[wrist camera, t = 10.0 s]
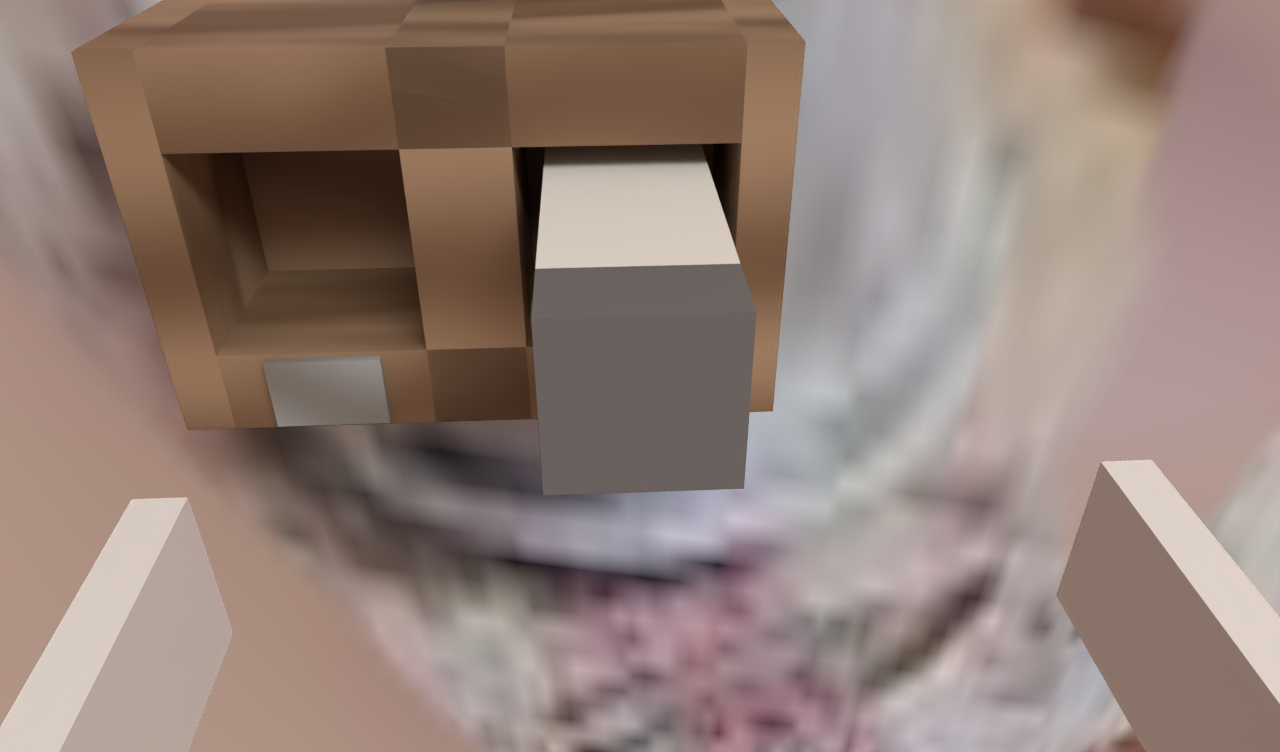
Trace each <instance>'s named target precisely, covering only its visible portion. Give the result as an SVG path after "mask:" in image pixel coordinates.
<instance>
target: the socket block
mask: <svg viewBox="0 0 1280 752" xmlns="http://www.w3.org/2000/svg"><path fill="white" fill-rule="evenodd" d="M804 51H805V41H804V39H803V38H802V37H801V36H800V35H799V34H798V32H797V31H796V30H795V29H794V28H793V26H792V25H791V24H790V23H789V22H788V20H787V19H786V18H785V17H784V16H783V14H782V13H781V12H780V11H779V10H778V8H777V7H776V6H775V5H774V4H773V2H772V1H771V0H163V1H161V2H159V3H157V4H155V5H154V6H152V7H150V8H148V9H147V10H145V11H143V12H141V13H139V14H138V15H136V16H134V17H132V18H131V19H129V20H127V21H125V22H123V23H122V24H120V25H118V26H116V27H115V28H113V29H111V30H109V31H107V32H106V33H104V34H102V35H100V36H98V37H97V38H95V39H93V40H91V41H90V42H88V43H86V44H84V45H82V46H81V47H79V48H77V49H75V50H74V51H72V52H71V53H72V56H73V60H74V63H75V66H76V69H77V73H78V76H79V79H80V82H81V86H82V89H83V92H84V95H85V99H86V102H87V105H88V108H89V112H90V115H91V118H92V121H93V125H94V128H95V131H96V134H97V138H98V141H99V144H100V147H101V151H102V154H103V157H104V160H105V164H106V167H107V170H108V173H109V177H110V180H111V183H112V186H113V190H114V193H115V196H116V199H117V203H118V206H119V209H120V213H121V216H122V219H123V222H124V226H125V229H126V232H127V235H128V239H129V242H130V245H131V248H132V252H133V255H134V258H135V261H136V265H137V268H138V271H139V274H140V278H141V281H142V284H143V287H144V291H145V294H146V297H147V300H148V304H149V307H150V310H151V313H152V317H153V320H154V323H155V326H156V330H157V333H158V336H159V339H160V343H161V346H162V349H163V352H164V356H165V359H166V362H167V365H168V369H169V372H170V375H171V378H172V382H173V385H174V388H175V391H176V395H177V398H178V401H179V404H180V408H181V411H182V414H183V417H184V421H185V424H186V427H187V430H201V429H232V428H264V427H295V426H326V425H358V424H389V423H420V422H452V421H483V420H514V419H538V411H537V397H536V382H535V368H534V353H533V339H532V324H531V314H532V302H533V290H534V277H535V265H536V253H537V241H538V229H539V217H540V205H541V193H542V180H543V168H544V156H545V147H558V146H611V145H664V144H701V146H702V149H703V152H704V155H705V158H706V161H707V164H708V167H709V170H710V173H711V176H712V179H713V182H714V185H715V188H716V191H717V194H718V197H719V200H720V203H721V206H722V209H723V212H724V215H725V218H726V221H727V224H728V227H729V230H730V233H731V236H732V239H733V242H734V245H735V248H736V252H737V255H738V258H739V261H740V264H741V267H742V270H743V273H744V276H745V279H746V282H747V285H748V288H749V291H750V294H751V297H752V300H753V303H754V306H755V309H756V312H757V314H756V328H755V342H754V356H753V369H752V383H751V397H750V410H749V412H765V411H773V402H774V391H775V379H776V368H777V357H778V345H779V334H780V323H781V311H782V300H783V289H784V277H785V266H786V255H787V244H788V232H789V221H790V210H791V198H792V187H793V176H794V164H795V153H796V142H797V130H798V119H799V108H800V96H801V85H802V74H803V63H804Z"/></svg>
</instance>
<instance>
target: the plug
mask: <svg viewBox="0 0 1280 752" xmlns="http://www.w3.org/2000/svg"><path fill="white" fill-rule="evenodd" d="M756 314H757V312H756V309H755V306H754V303H753V300H752V297H751V294H750V291H749V288H748V285H747V282H746V279H745V276H744V273H743V270H742V267H741V264H740V261H739V258H738V255H737V252H736V248H735V245H734V242H733V239H732V236H731V233H730V230H729V227H728V224H727V221H726V218H725V215H724V212H723V209H722V206H721V203H720V200H719V197H718V194H717V191H716V188H715V185H714V182H713V179H712V176H711V173H710V170H709V167H708V164H707V161H706V158H705V155H704V152H703V149H702V146H701V144H664V145H611V146H558V147H545V156H544V168H543V180H542V193H541V205H540V217H539V229H538V241H537V253H536V265H535V277H534V290H533V302H532V314H531V324H532V339H533V353H534V368H535V382H536V397H537V411H538V425H539V440H540V454H541V469H542V483H543V496H547V495H575V494H603V493H631V492H659V491H687V490H715V489H743V488H744V479H745V465H746V452H747V438H748V424H749V410H750V397H751V383H752V369H753V356H754V342H755V328H756Z"/></svg>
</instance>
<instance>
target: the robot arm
mask: <svg viewBox="0 0 1280 752" xmlns="http://www.w3.org/2000/svg"><path fill="white" fill-rule="evenodd" d="M1057 597H1058V599H1059V601H1060V602H1061V604H1062V606H1063V608H1064V610H1065V611H1066V613H1067V615H1068V617H1069V618H1070V620H1071V622H1072V624H1073V625H1074V627H1075V629H1076V631H1077V632H1078V634H1079V636H1080V638H1081V639H1082V641H1083V643H1084V645H1085V646H1086V648H1087V650H1088V652H1089V653H1090V655H1091V657H1092V659H1093V660H1094V662H1095V664H1096V666H1097V667H1098V669H1099V671H1100V673H1101V674H1102V676H1103V678H1104V680H1105V681H1106V683H1107V685H1108V687H1109V688H1110V690H1111V692H1112V694H1113V695H1114V697H1115V699H1116V701H1117V702H1118V704H1119V706H1120V708H1121V709H1122V711H1123V713H1124V715H1125V716H1126V718H1127V720H1128V722H1129V723H1130V725H1131V727H1132V729H1133V730H1134V732H1135V734H1136V736H1137V737H1138V739H1139V741H1140V743H1141V744H1142V746H1143V748H1144V750H1145V751H1146V752H1280V618H1279V616H1278V615H1277V614H1276V613H1275V611H1274V610H1273V609H1272V608H1271V606H1270V605H1269V604H1268V603H1267V602H1266V600H1265V599H1264V598H1263V597H1262V595H1261V594H1260V593H1259V592H1258V590H1257V589H1256V588H1255V587H1254V586H1253V584H1252V583H1251V582H1250V581H1249V579H1248V578H1247V577H1246V576H1245V574H1244V573H1243V572H1242V571H1241V569H1240V568H1239V567H1238V566H1237V565H1236V563H1235V562H1234V561H1233V560H1232V558H1231V557H1230V556H1229V555H1228V553H1227V552H1226V551H1225V550H1224V549H1223V547H1222V546H1221V545H1220V544H1219V542H1218V541H1217V540H1216V539H1215V537H1214V536H1213V535H1212V534H1211V533H1210V531H1209V530H1208V529H1207V528H1206V526H1205V525H1204V524H1203V523H1202V521H1201V520H1200V519H1199V518H1198V517H1197V515H1196V514H1195V513H1194V512H1193V510H1192V509H1191V508H1190V507H1189V505H1188V504H1187V503H1186V502H1185V501H1184V499H1183V498H1182V497H1181V496H1180V494H1179V493H1178V492H1177V491H1176V489H1175V488H1174V487H1173V486H1172V484H1171V483H1170V482H1169V481H1168V480H1167V478H1166V477H1165V476H1164V475H1163V473H1162V472H1161V471H1160V470H1159V468H1158V467H1157V466H1156V465H1155V464H1154V462H1153V461H1152V460H1138V461H1137V460H1136V461H1111V462H1101V463H1100V466H1099V470H1098V472H1097V475H1096V479H1095V481H1094V485H1093V487H1092V491H1091V493H1090V496H1089V499H1088V502H1087V505H1086V508H1085V511H1084V514H1083V517H1082V520H1081V523H1080V526H1079V529H1078V532H1077V535H1076V538H1075V541H1074V544H1073V547H1072V550H1071V553H1070V556H1069V559H1068V562H1067V565H1066V568H1065V571H1064V574H1063V577H1062V580H1061V583H1060V586H1059V589H1058V592H1057ZM232 635H233V631H232V628H231V625H230V622H229V619H228V616H227V613H226V610H225V607H224V604H223V601H222V598H221V595H220V592H219V589H218V586H217V583H216V580H215V577H214V574H213V571H212V568H211V565H210V562H209V559H208V556H207V553H206V550H205V547H204V544H203V541H202V538H201V535H200V532H199V529H198V526H197V524H196V520H195V517H194V514H193V511H192V508H191V505H190V502H189V499H188V497H181V498H155V499H132V500H131V502H130V503H129V505H128V507H127V508H126V510H125V512H124V514H123V516H122V517H121V519H120V521H119V522H118V524H117V526H116V528H115V529H114V531H113V533H112V534H111V536H110V538H109V540H108V541H107V543H106V545H105V546H104V548H103V550H102V552H101V553H100V555H99V557H98V559H97V560H96V562H95V564H94V566H93V567H92V569H91V571H90V572H89V574H88V576H87V578H86V579H85V581H84V583H83V585H82V586H81V588H80V590H79V591H78V593H77V595H76V597H75V599H74V600H73V602H72V604H71V605H70V607H69V609H68V611H67V612H66V614H65V616H64V618H63V619H62V621H61V623H60V624H59V626H58V628H57V630H56V631H55V633H54V635H53V637H52V638H51V640H50V642H49V643H48V645H47V647H46V649H45V650H44V652H43V654H42V656H41V657H40V659H39V661H38V662H37V664H36V666H35V668H34V669H33V671H32V673H31V675H30V676H29V678H28V680H27V682H26V683H25V685H24V687H23V688H22V690H21V692H20V694H19V696H18V697H17V699H16V701H15V702H14V704H13V706H12V707H11V709H10V711H9V713H8V714H7V716H6V718H5V720H4V721H3V723H2V725H1V727H0V752H189V749H190V747H191V744H192V741H193V739H194V736H195V733H196V731H197V728H198V725H199V723H200V720H201V717H202V715H203V712H204V709H205V707H206V704H207V702H208V699H209V696H210V693H211V691H212V688H213V685H214V683H215V680H216V678H217V675H218V672H219V670H220V667H221V664H222V662H223V659H224V656H225V654H226V651H227V648H228V646H229V643H230V640H231V638H232Z"/></svg>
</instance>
